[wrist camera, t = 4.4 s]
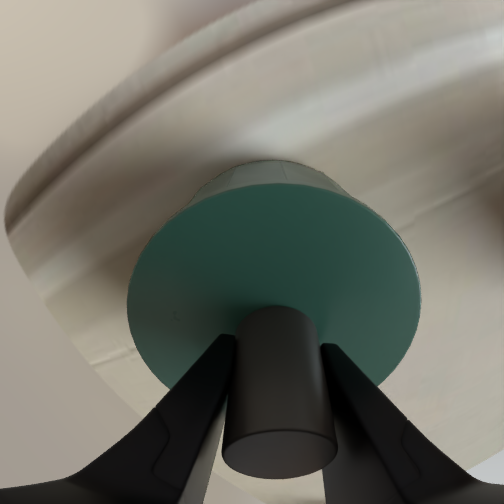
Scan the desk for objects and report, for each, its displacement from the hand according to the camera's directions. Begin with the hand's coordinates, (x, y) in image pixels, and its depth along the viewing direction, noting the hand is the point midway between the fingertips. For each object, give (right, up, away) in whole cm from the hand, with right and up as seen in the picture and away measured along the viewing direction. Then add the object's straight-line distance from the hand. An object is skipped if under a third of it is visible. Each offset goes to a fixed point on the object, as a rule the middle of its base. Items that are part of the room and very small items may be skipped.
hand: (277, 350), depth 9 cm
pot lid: (0, 0, +1) cm, 1 cm away
